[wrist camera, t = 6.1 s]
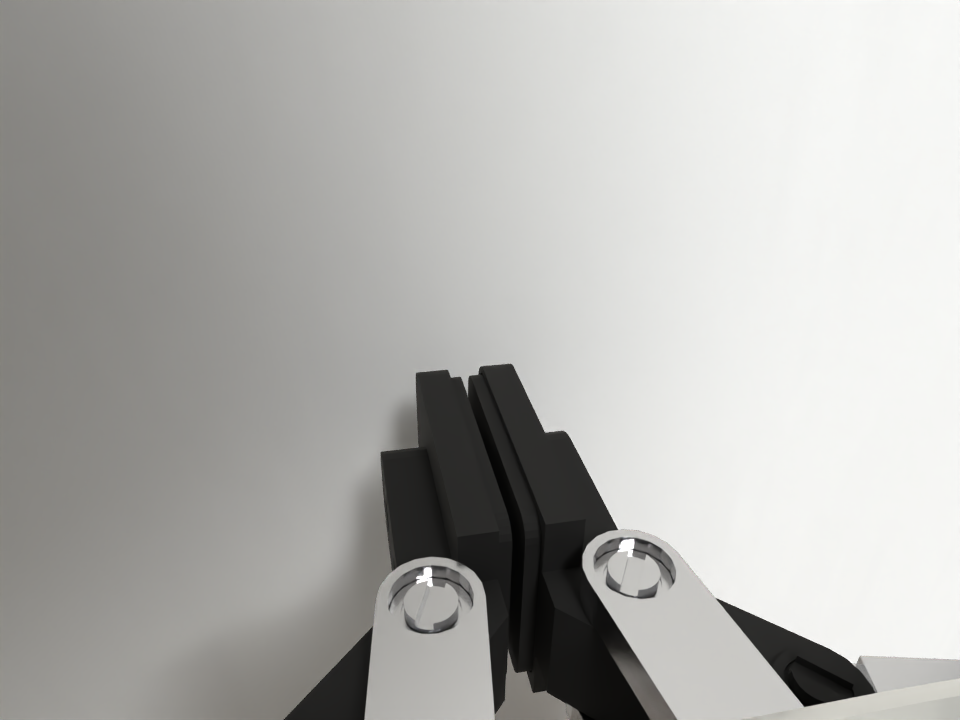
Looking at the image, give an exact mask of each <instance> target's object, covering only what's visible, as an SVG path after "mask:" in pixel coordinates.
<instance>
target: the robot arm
mask: <svg viewBox="0 0 960 720" xmlns="http://www.w3.org/2000/svg"><path fill="white" fill-rule="evenodd" d="M416 398H417V421H418V444H419V448H411V449H402V450H394V451H385V452H381V468H382V481H383V493H384V504H385V514H386V524H387V532H388V541H389V549H390V556H391V564H392V572H391V573H390V574H388V576H387V577H386V578H385V580H384V581H383V582H382V584H381V585H380V587H379V590H378V594H377V597H376V602H375V613H374V624H373V627H372V628H371V629H370V630H369V631H368V632H367V633H366V634H365V635H364V636H363V637H362V638H361V640H360V641H359V642H358V643H357V644H356V645H355V646H354V647H353V648H352V649H351V650H350V651H349V652H348V653H347V654H346V655H345V656H344V657H343V658H342V659H341V660H340V661H339V663H338V664H337V665H336V666H335V667H334V668H333V669H332V670H331V671H330V672H329V673H328V674H327V675H326V676H325V677H324V678H323V679H322V680H321V681H320V682H319V683H318V685H317V686H316V687H315V688H314V689H313V690H312V691H311V692H310V693H309V694H308V695H307V696H306V697H305V698H304V699H303V700H302V701H301V702H300V703H299V704H298V705H297V706H296V708H295V709H294V710H293V711H292V712H291V713H290V714H289V715H288V716H287V717H286V718H285V719H284V720H495V714H496V712H497V711H498V709H499V708H500V706H501V705H502V703H503V702H504V700H505V680H506V672H507V654H508V650H509V654H510V657H511V661H512V664H513V667H514V670H515V672H516V673H519V672H525V671H527V674H528V678H529V681H530V685H531V688H532V691H533V693H535V692H541V691H546V690H547V693H549V694H551V695H553V696H554V697H556V698H558V699H559V700H561V701H563V702H565V703H566V713H567V716H568V719H569V720H960V660H950V659H926V658H902V657H878V656H860V657H859V659H858V661H857V664H852V663H850V662H849V661H848V660H847V659H846V658H844V657H842V656H841V655H839V654H837V653H835V652H834V651H832V650H830V649H828V648H826V647H824V646H822V645H819V644H817V643H815V642H813V641H810V640H808V639H806V638H804V637H802V636H799V635H797V634H795V633H793V632H790V631H788V630H786V629H784V628H781V627H779V626H777V625H775V624H773V623H770V622H768V621H766V620H764V619H761V618H759V617H757V616H755V615H752V614H750V613H748V612H746V611H744V610H741V609H739V608H737V607H735V606H732V605H730V604H728V603H726V602H724V601H721V600H719V599H717V598H715V597H714V596H713V595H712V593H711V592H710V591H709V590H708V589H707V587H706V586H705V585H704V584H703V582H702V581H701V580H700V579H699V578H698V576H697V575H696V574H695V573H694V571H693V570H692V569H691V568H690V567H689V565H688V564H687V563H686V562H685V560H684V559H683V558H682V557H681V556H680V554H679V553H678V552H677V551H676V550H675V549H673V548H672V547H671V546H670V545H669V544H668V543H667V542H665V541H663V540H661V539H660V538H658V537H656V536H654V535H651V534H648V533H645V532H641V531H637V530H626V529H621V530H618V529H617V527H616V525H615V523H614V521H613V519H612V517H611V515H610V514H609V512H608V510H607V508H606V506H605V504H604V502H603V500H602V498H601V496H600V494H599V492H598V491H597V489H596V487H595V485H594V483H593V481H592V479H591V477H590V475H589V473H588V471H587V469H586V468H585V466H584V464H583V462H582V460H581V458H580V456H579V454H578V452H577V450H576V448H575V447H574V445H573V443H572V441H571V439H570V437H569V436H568V434H567V433H566V432H564V431H557V432H549V433H545V432H544V430H543V428H542V425H541V423H540V421H539V419H538V417H537V415H536V413H535V411H534V409H533V407H532V404H531V402H530V400H529V398H528V396H527V394H526V392H525V390H524V388H523V386H522V383H521V381H520V379H519V377H518V375H517V373H516V371H515V369H514V367H513V365H512V364H502V365H492V366H482V367H480V369H479V375H473V376H469V380H468V396H467V393H466V390H465V388H464V385H463V382H462V379H461V377H453V378H451V377H450V374H449V372H448V370H441V371H430V372H420V373H416Z"/></svg>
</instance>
